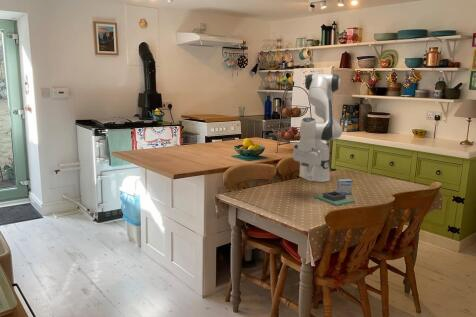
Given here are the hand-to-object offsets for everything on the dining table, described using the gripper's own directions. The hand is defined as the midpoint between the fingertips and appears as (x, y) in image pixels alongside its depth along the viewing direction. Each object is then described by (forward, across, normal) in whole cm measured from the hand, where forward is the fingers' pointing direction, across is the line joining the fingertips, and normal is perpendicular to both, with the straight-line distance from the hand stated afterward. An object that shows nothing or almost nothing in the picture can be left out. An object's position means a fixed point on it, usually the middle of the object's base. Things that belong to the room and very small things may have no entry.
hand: (306, 170), depth 222 cm
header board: (+16, -11, -12) cm, 23 cm away
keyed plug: (+3, 0, 0) cm, 3 cm away
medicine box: (+16, -5, -26) cm, 31 cm away
